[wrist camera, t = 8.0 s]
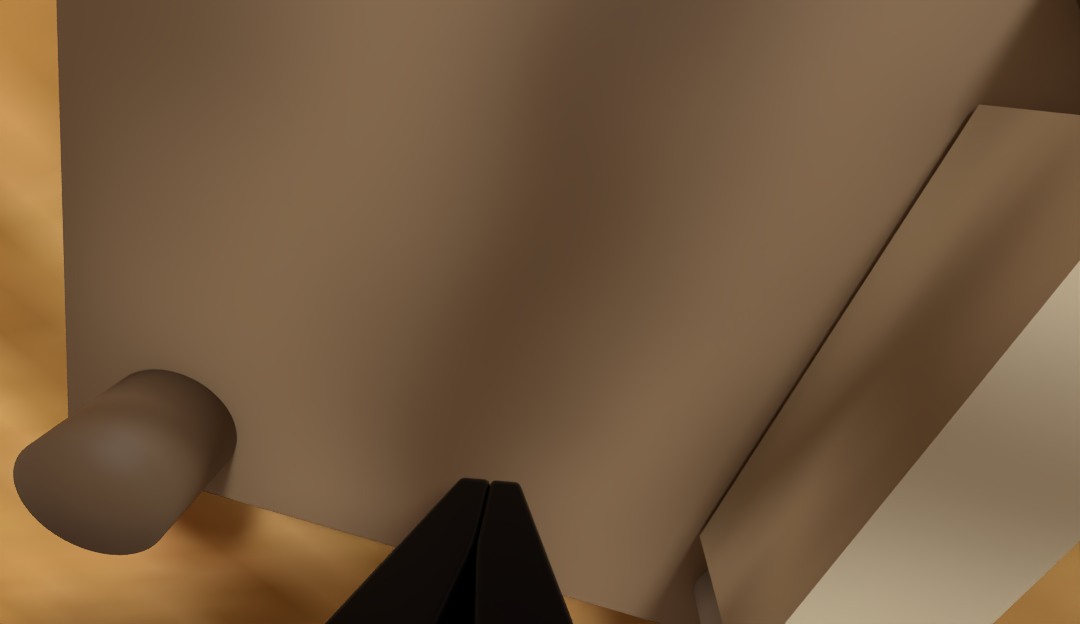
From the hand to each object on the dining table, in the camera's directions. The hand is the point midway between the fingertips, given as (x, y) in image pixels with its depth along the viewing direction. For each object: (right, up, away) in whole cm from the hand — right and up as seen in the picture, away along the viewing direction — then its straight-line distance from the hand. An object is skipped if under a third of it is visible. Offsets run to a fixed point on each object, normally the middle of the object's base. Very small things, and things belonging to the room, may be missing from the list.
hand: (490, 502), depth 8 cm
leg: (+6, +2, +1) cm, 7 cm away
